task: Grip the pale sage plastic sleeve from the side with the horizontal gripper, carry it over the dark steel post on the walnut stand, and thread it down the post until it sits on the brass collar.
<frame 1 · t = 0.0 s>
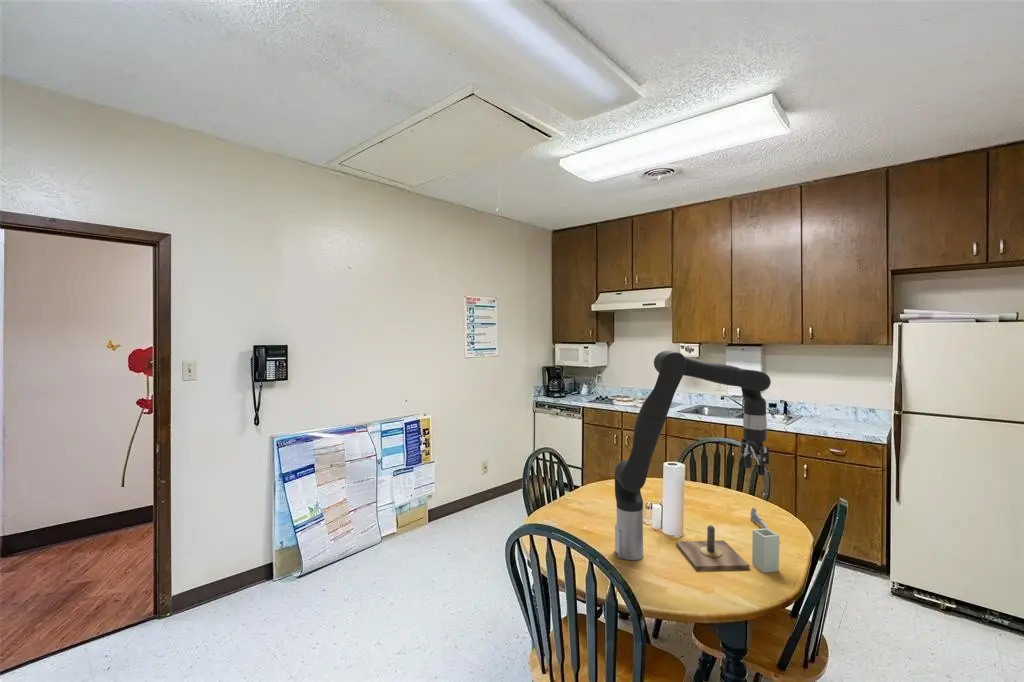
hand: (754, 471, 169), 29 cm above the table, tool pointing down, fingers open, 8 cm apart
post stand: (710, 556, 167), on the table
caliper: (764, 532, 187), on the table
sleeve: (765, 567, 159), on the table
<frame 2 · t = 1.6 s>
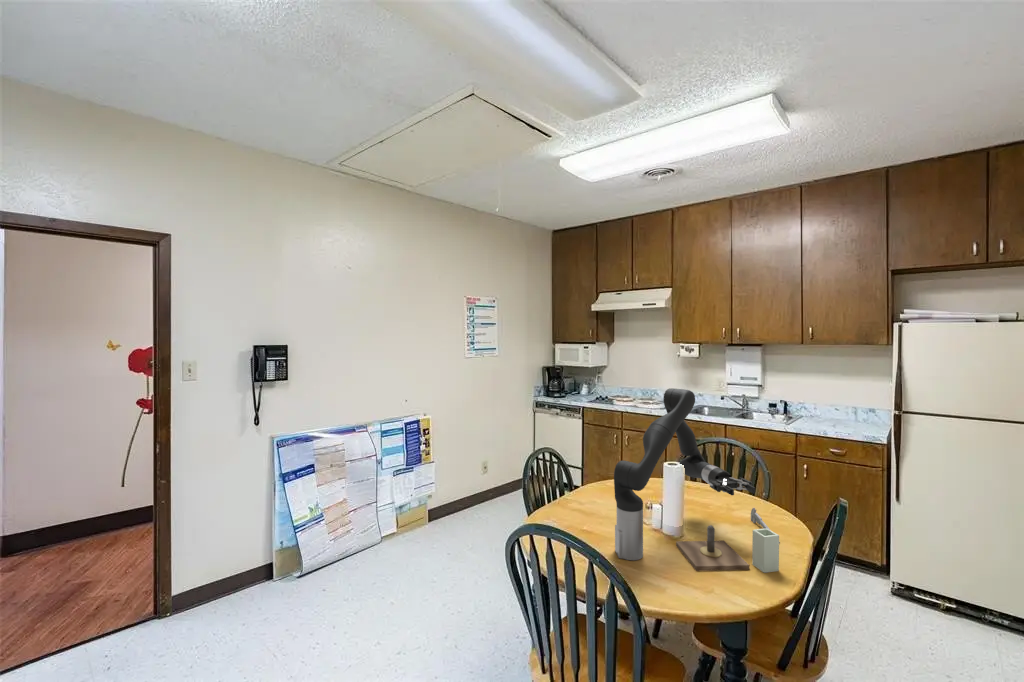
hand: (743, 491, 169), 22 cm above the table, tool horizontal, fingers open, 8 cm apart
nothing on the table moved.
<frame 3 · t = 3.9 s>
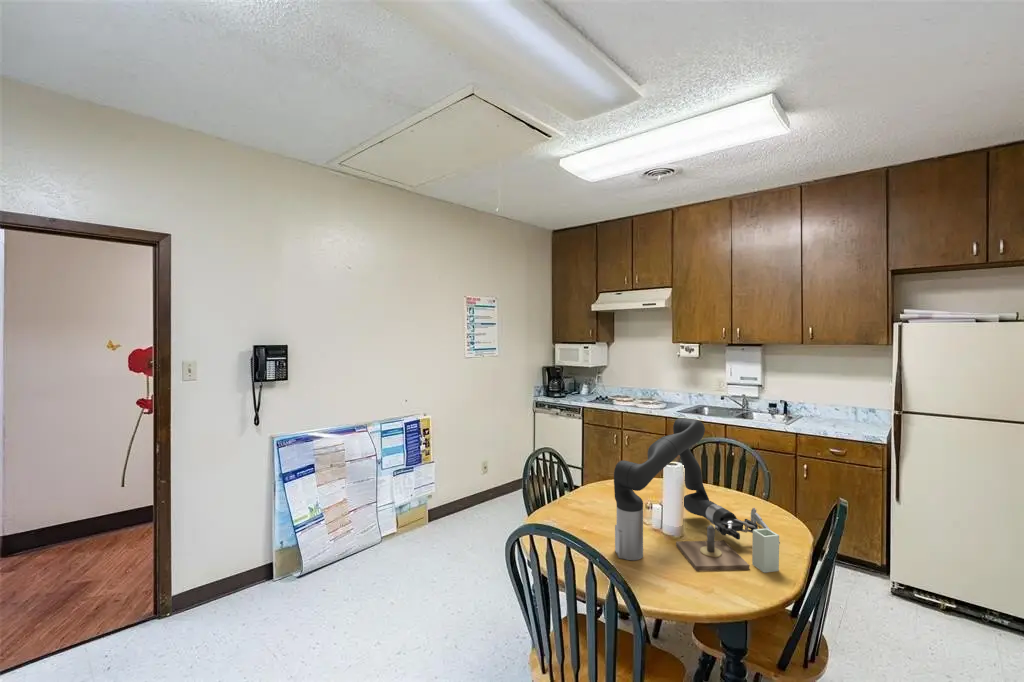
hand: (749, 535, 167), 7 cm above the table, tool horizontal, fingers open, 8 cm apart
nothing on the table moved.
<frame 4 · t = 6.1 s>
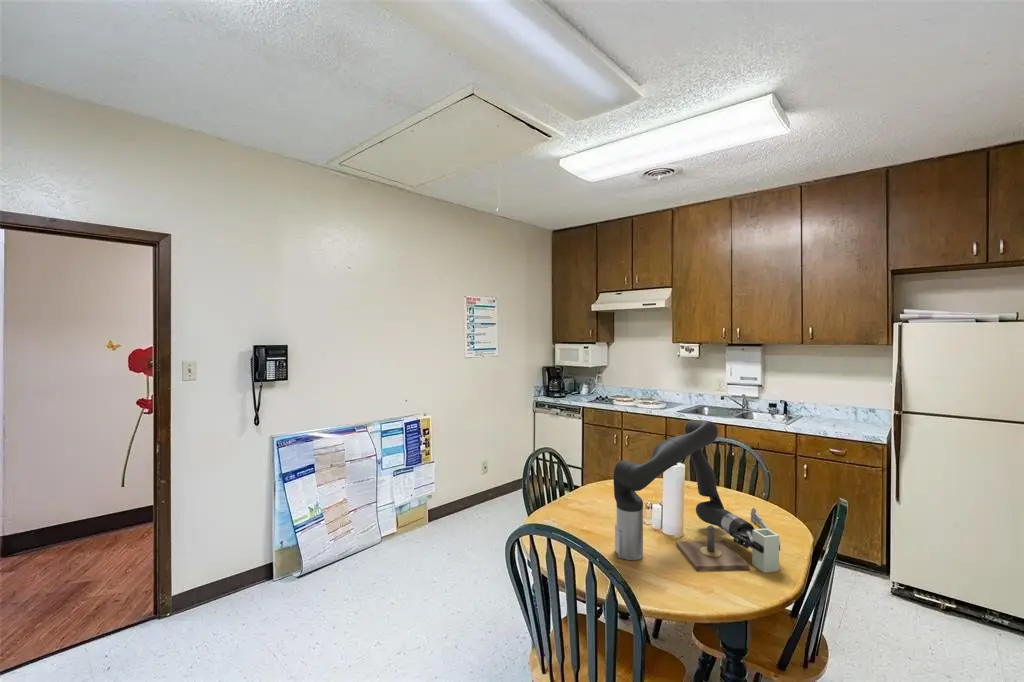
hand: (771, 549, 157), 8 cm above the table, tool horizontal, fingers closed on sleeve, 5 cm apart
sleeve: (765, 567, 159), on the table, touching gripper
everything else where it was.
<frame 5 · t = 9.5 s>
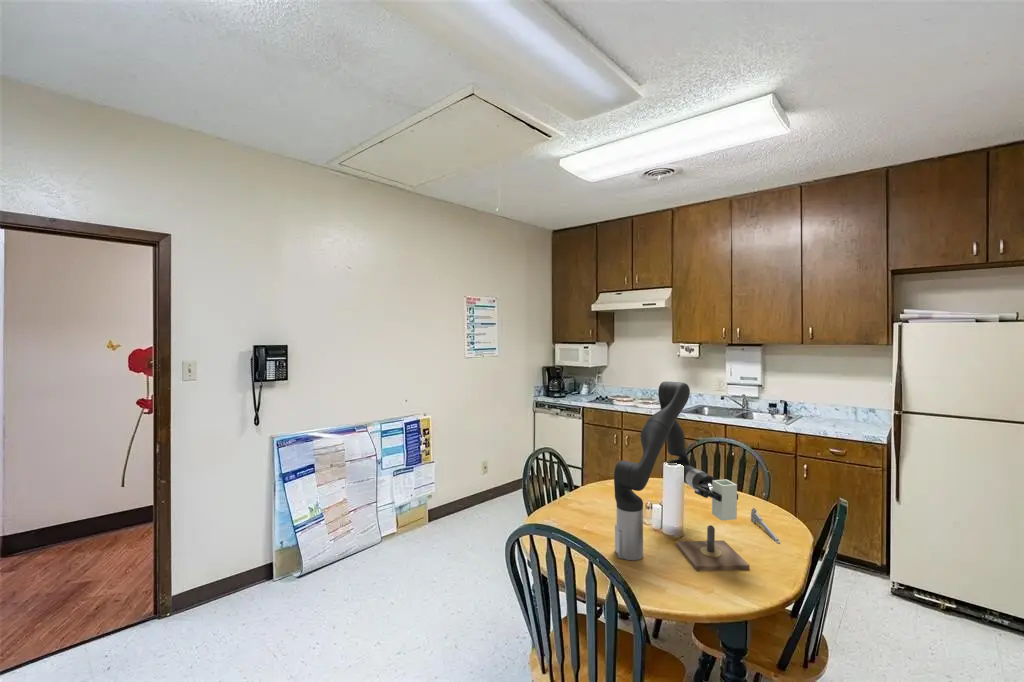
hand: (728, 497, 161), 23 cm above the table, tool horizontal, fingers closed on sleeve, 5 cm apart
sleeve: (724, 516, 164), point 15 cm above the table, touching gripper
everything else where it was.
when the fingers open (10 cm above the table, at t = 12.7 s): sleeve stays where it is, resting on post stand.
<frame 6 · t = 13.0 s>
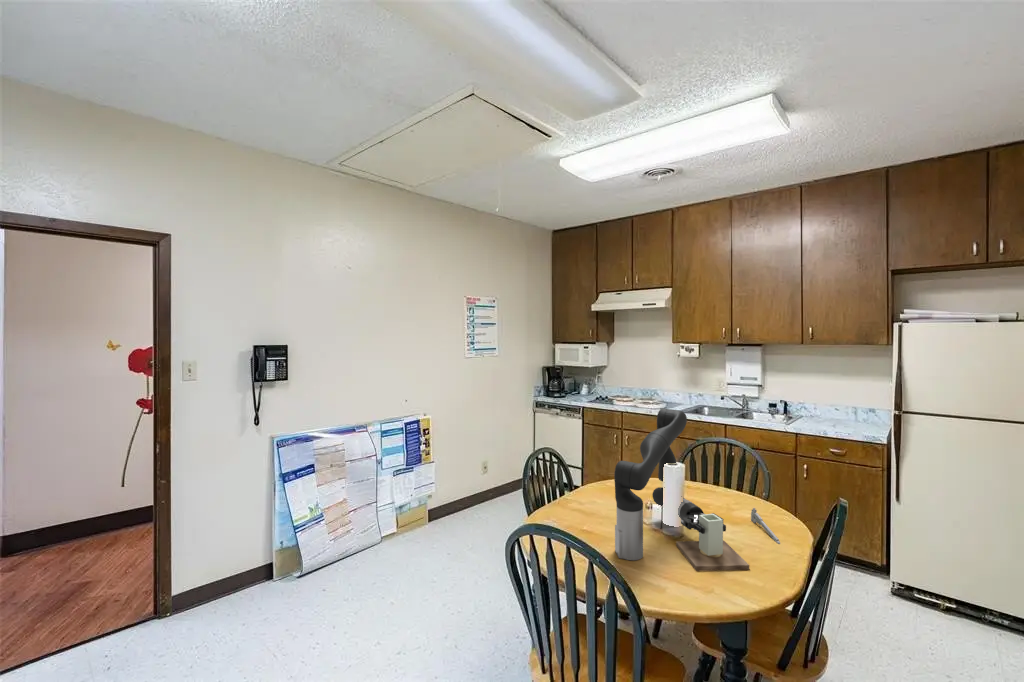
hand: (714, 529, 165), 11 cm above the table, tool horizontal, fingers open, 8 cm apart
sleeve: (710, 550, 167), point 2 cm above the table, touching post stand
everything else where it was.
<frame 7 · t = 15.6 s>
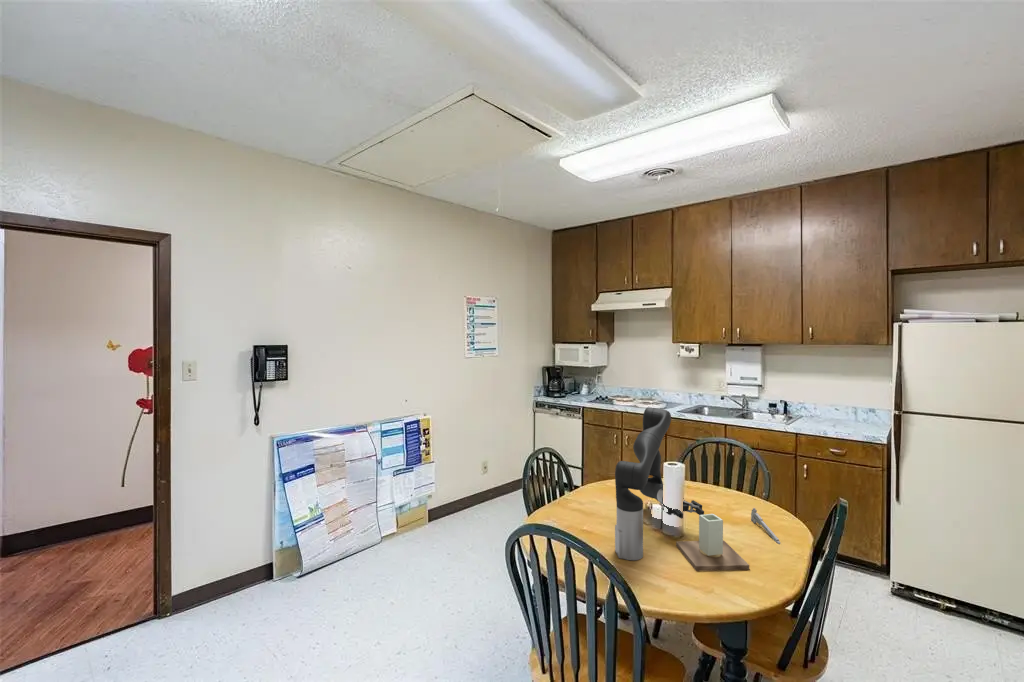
hand: (692, 515, 177), 11 cm above the table, tool horizontal, fingers open, 8 cm apart
nothing on the table moved.
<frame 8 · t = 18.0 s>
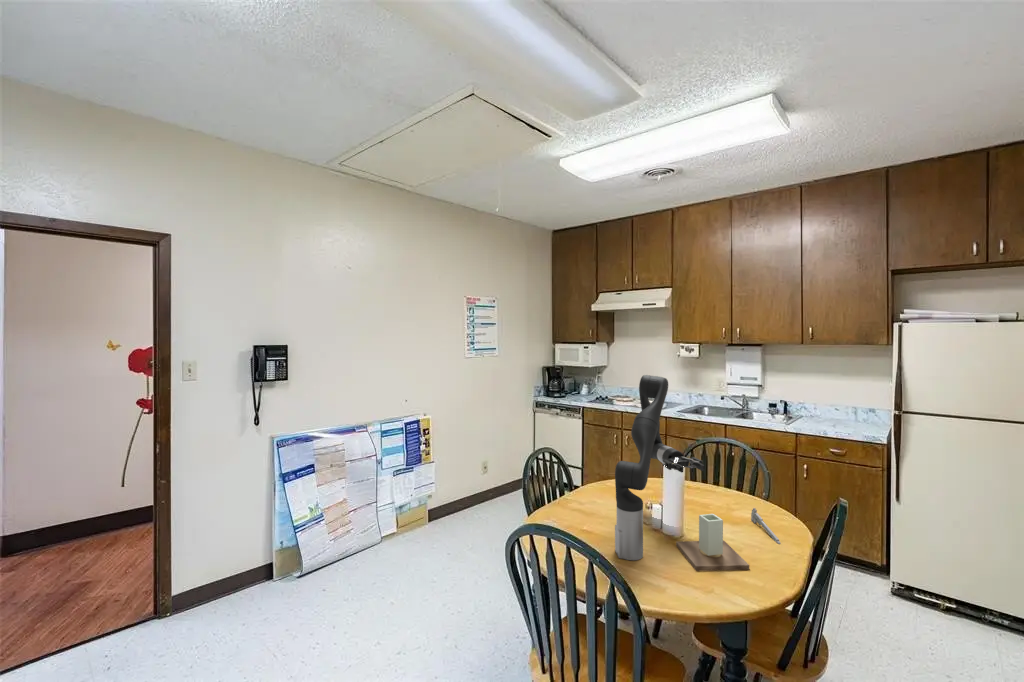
hand: (693, 468, 177), 28 cm above the table, tool horizontal, fingers open, 8 cm apart
nothing on the table moved.
at the end: sleeve 0.0 cm off-centre on the post stand, point 2.1 cm above the post stand's base; sleeve tilted 0°; the gripper is holding nothing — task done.
